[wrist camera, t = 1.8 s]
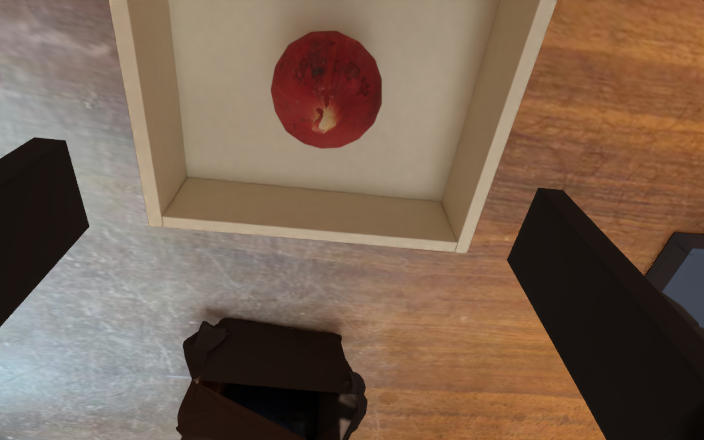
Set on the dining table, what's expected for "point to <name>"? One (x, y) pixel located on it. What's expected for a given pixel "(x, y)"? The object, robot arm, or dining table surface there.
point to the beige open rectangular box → (330, 163)
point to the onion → (326, 89)
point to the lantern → (268, 385)
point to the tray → (682, 273)
